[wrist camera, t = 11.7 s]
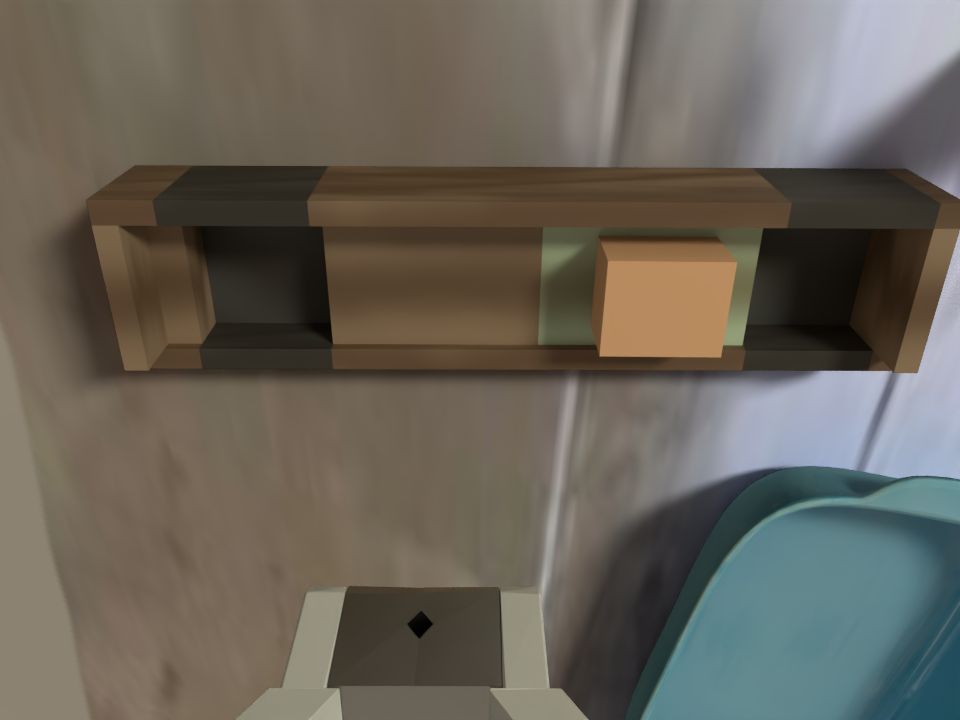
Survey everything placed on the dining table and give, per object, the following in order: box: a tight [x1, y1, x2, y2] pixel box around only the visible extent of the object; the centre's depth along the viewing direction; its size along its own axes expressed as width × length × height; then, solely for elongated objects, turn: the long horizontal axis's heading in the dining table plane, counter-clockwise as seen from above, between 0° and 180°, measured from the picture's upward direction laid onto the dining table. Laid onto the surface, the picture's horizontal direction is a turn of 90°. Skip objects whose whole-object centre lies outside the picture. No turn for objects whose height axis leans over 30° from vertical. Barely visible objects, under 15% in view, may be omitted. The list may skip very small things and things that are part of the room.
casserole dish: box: [625, 466, 960, 720], centre depth 55 cm, size 37×22×7 cm, turn 168°
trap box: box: [86, 166, 960, 373], centre depth 42 cm, size 10×40×6 cm, turn 90°
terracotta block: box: [591, 236, 737, 358], centre depth 40 cm, size 5×6×4 cm
